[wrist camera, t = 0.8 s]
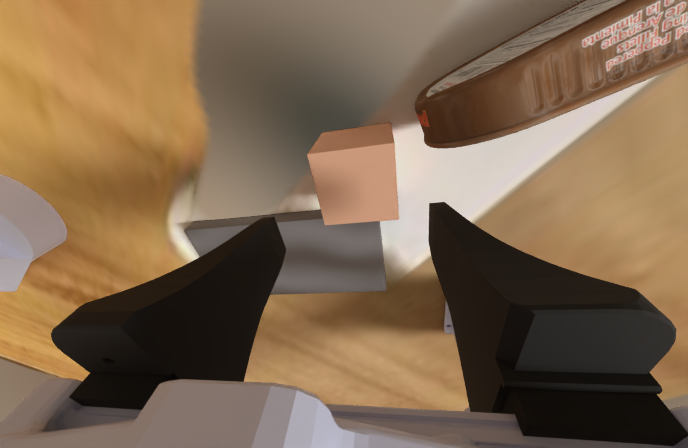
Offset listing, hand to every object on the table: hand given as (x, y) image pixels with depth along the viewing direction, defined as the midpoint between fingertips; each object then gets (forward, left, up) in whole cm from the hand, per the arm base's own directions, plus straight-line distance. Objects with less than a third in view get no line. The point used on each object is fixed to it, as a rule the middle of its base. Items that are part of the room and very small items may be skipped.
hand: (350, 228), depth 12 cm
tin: (+5, -11, -10) cm, 16 cm away
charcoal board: (-9, +8, -9) cm, 15 cm away
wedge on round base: (-2, +38, -10) cm, 39 cm away
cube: (0, 0, -10) cm, 10 cm away
